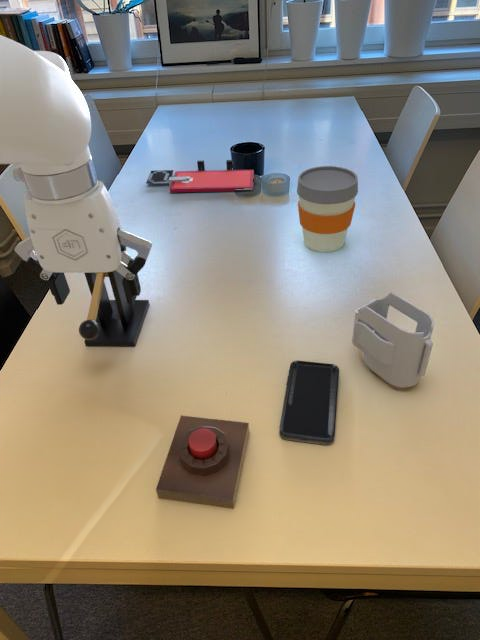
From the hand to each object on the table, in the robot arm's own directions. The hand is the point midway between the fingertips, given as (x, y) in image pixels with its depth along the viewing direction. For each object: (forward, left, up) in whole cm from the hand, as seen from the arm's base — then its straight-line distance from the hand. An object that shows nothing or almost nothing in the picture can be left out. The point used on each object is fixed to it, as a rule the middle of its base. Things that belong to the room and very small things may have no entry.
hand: (98, 298), depth 66 cm
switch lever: (+8, +10, -10) cm, 16 cm away
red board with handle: (+73, +30, -19) cm, 81 cm away
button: (-6, -18, -15) cm, 24 cm away
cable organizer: (+22, -35, -19) cm, 46 cm away
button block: (-6, -18, -19) cm, 27 cm away
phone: (+10, -27, -19) cm, 35 cm away
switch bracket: (+13, +12, -19) cm, 26 cm away
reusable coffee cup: (+55, -13, -19) cm, 60 cm away
